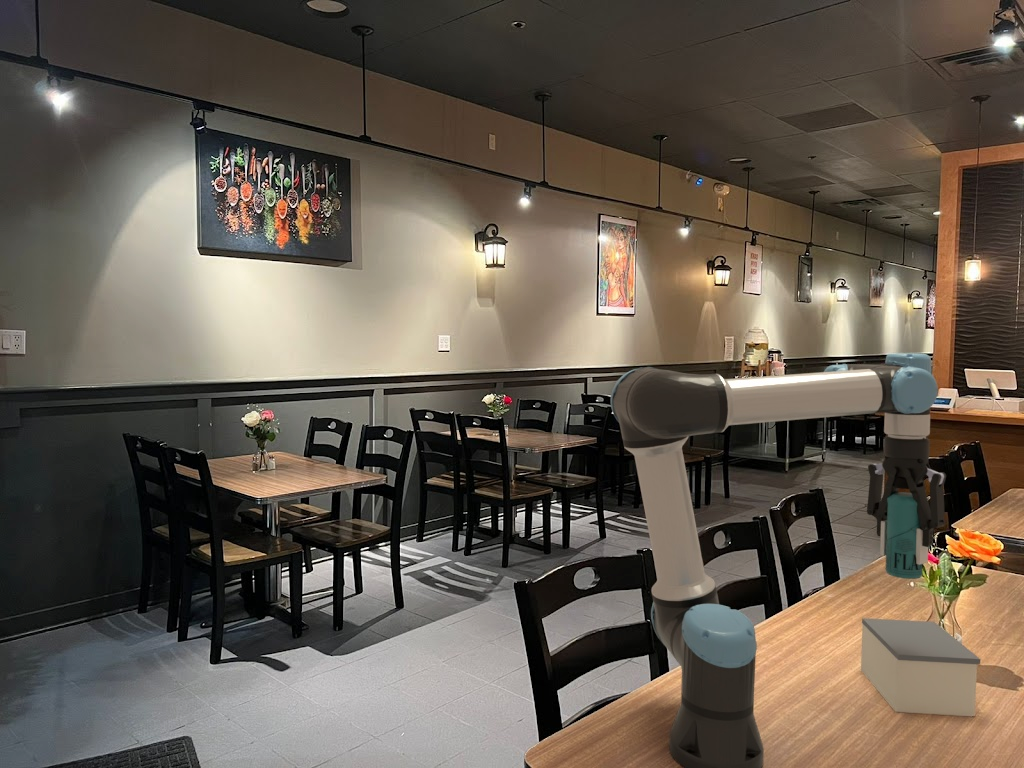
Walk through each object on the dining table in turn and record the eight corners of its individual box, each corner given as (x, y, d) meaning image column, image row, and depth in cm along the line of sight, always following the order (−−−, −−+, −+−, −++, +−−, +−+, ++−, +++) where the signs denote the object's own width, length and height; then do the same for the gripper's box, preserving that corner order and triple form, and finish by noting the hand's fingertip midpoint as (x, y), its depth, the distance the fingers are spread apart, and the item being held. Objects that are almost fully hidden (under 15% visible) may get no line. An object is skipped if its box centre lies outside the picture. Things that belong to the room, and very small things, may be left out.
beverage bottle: (888, 585, 138) (890, 478, 137) (881, 574, 144) (883, 472, 143) (927, 588, 136) (930, 480, 135) (918, 577, 142) (921, 473, 141)
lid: (898, 659, 138) (898, 654, 138) (861, 622, 157) (862, 618, 157) (980, 664, 137) (980, 659, 137) (933, 626, 155) (934, 621, 155)
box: (895, 711, 139) (897, 659, 139) (860, 670, 157) (862, 623, 157) (974, 716, 138) (977, 663, 137) (930, 673, 156) (932, 627, 155)
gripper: (971, 440, 133) (967, 567, 134) (869, 429, 149) (867, 544, 150) (949, 443, 129) (945, 575, 130) (847, 432, 145) (844, 549, 146)
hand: (903, 558), depth 140 cm, fingers closed on beverage bottle, 6 cm apart
